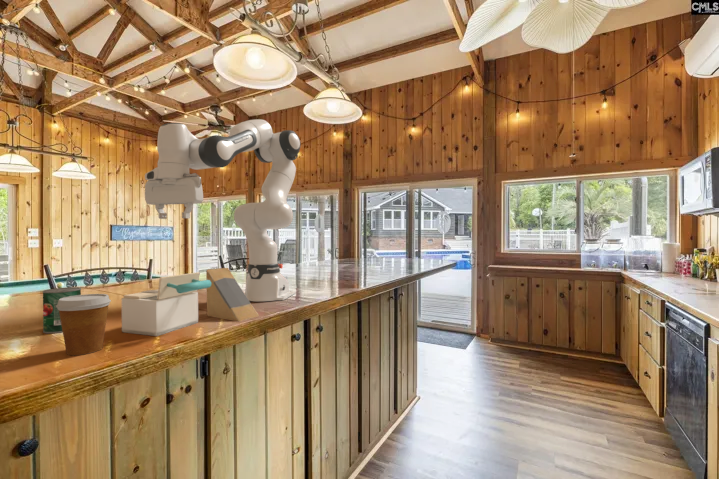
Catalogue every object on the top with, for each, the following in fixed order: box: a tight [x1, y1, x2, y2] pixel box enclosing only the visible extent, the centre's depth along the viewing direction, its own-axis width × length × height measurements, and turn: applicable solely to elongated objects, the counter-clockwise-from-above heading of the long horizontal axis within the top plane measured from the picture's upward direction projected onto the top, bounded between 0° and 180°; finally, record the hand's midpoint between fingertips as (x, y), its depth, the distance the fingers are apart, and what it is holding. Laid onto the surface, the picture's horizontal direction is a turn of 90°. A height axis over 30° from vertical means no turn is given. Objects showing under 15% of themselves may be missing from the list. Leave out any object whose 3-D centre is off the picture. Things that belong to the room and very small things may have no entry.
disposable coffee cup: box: [56, 293, 112, 356], centre depth 75 cm, size 10×10×12 cm
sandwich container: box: [205, 267, 260, 322], centre depth 108 cm, size 9×15×15 cm, turn 60°
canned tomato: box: [42, 286, 82, 334], centre depth 92 cm, size 8×8×11 cm
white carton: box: [121, 291, 199, 337], centre depth 94 cm, size 14×12×9 cm
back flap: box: [122, 289, 158, 299], centre depth 95 cm, size 13×6×1 cm, turn 162°
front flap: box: [157, 271, 211, 299], centre depth 92 cm, size 13×6×6 cm
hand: (174, 218), depth 107 cm, fingers open, 8 cm apart
